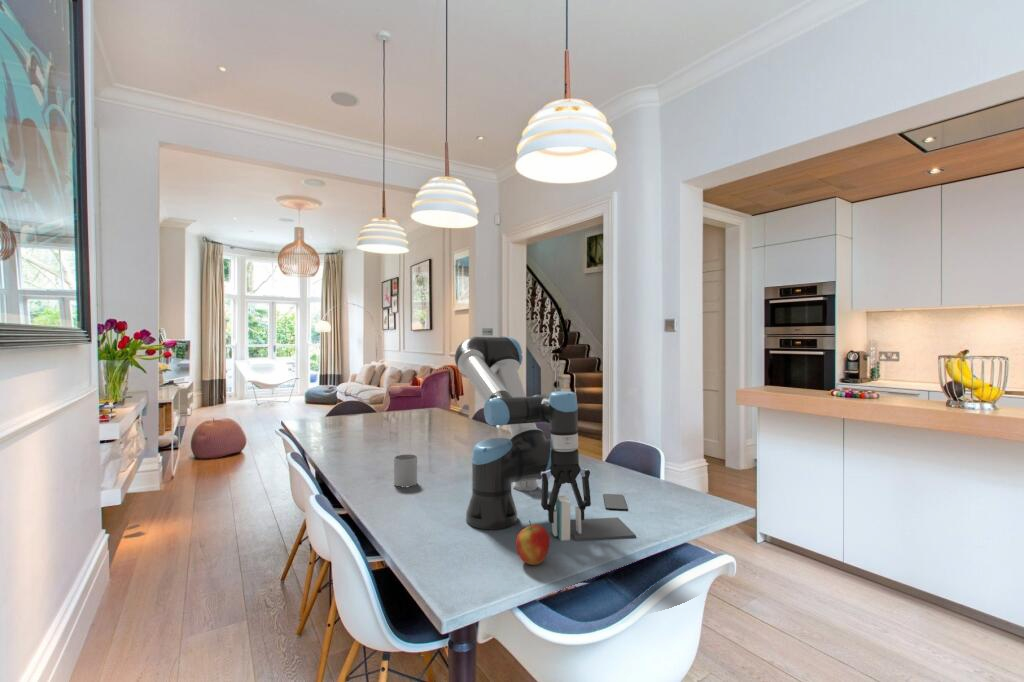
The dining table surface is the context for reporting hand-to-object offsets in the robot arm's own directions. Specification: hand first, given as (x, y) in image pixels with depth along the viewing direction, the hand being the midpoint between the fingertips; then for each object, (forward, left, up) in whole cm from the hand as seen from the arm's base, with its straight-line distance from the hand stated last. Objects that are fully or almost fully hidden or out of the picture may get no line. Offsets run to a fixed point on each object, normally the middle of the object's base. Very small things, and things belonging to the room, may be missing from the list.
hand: (566, 532), depth 128 cm
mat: (+10, +3, -1) cm, 10 cm away
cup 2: (-4, +44, -1) cm, 44 cm away
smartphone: (+23, +24, -1) cm, 33 cm away
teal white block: (-1, 0, -1) cm, 1 cm away
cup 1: (-47, +53, -1) cm, 71 cm away
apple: (-12, -14, -1) cm, 19 cm away
